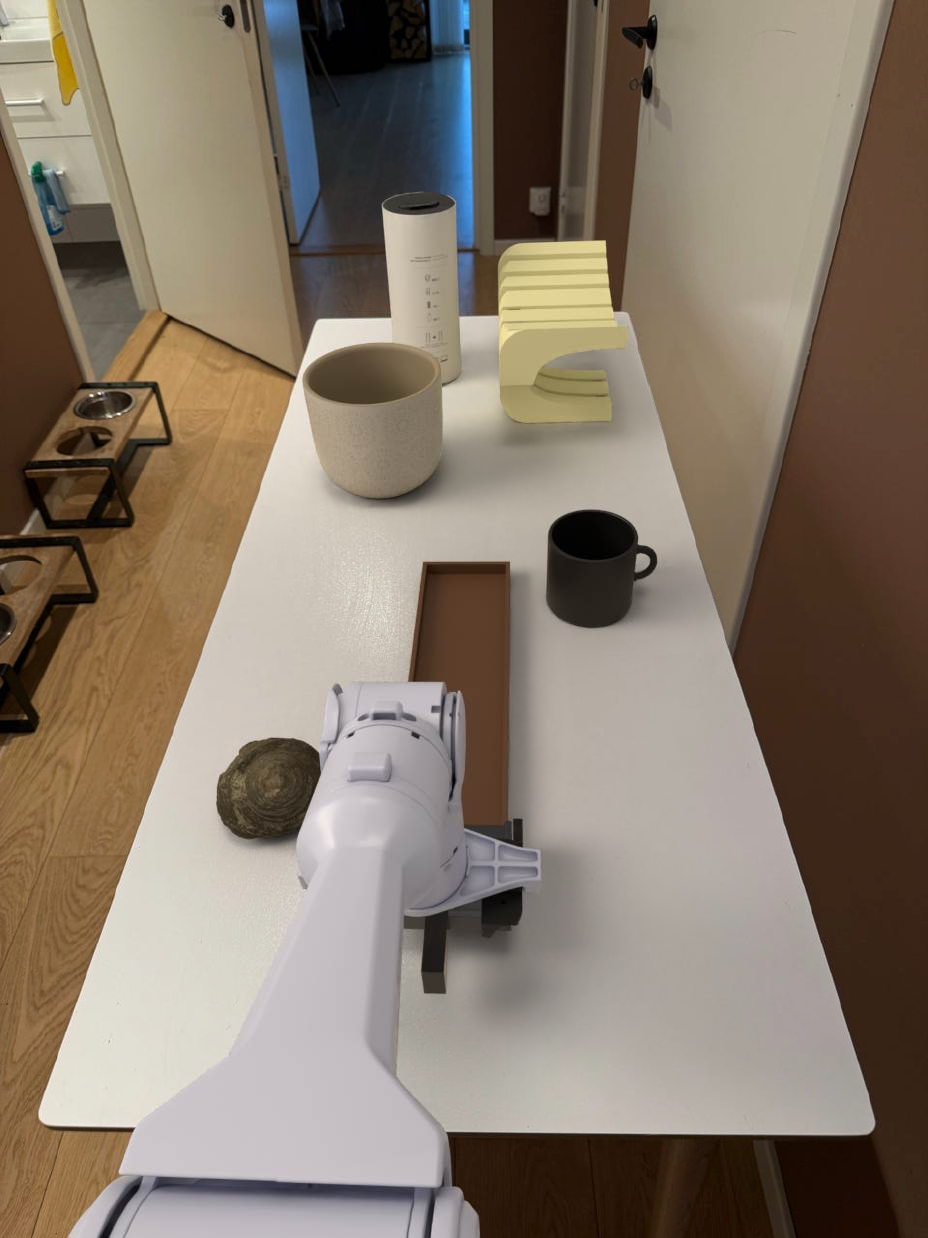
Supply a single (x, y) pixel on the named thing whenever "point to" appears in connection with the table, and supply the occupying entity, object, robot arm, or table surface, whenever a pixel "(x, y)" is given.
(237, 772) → the seashell
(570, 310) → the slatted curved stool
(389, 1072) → the robot arm
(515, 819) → the bracket
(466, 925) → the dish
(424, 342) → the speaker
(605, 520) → the mug
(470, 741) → the tray
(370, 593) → the table surface
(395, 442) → the planter
